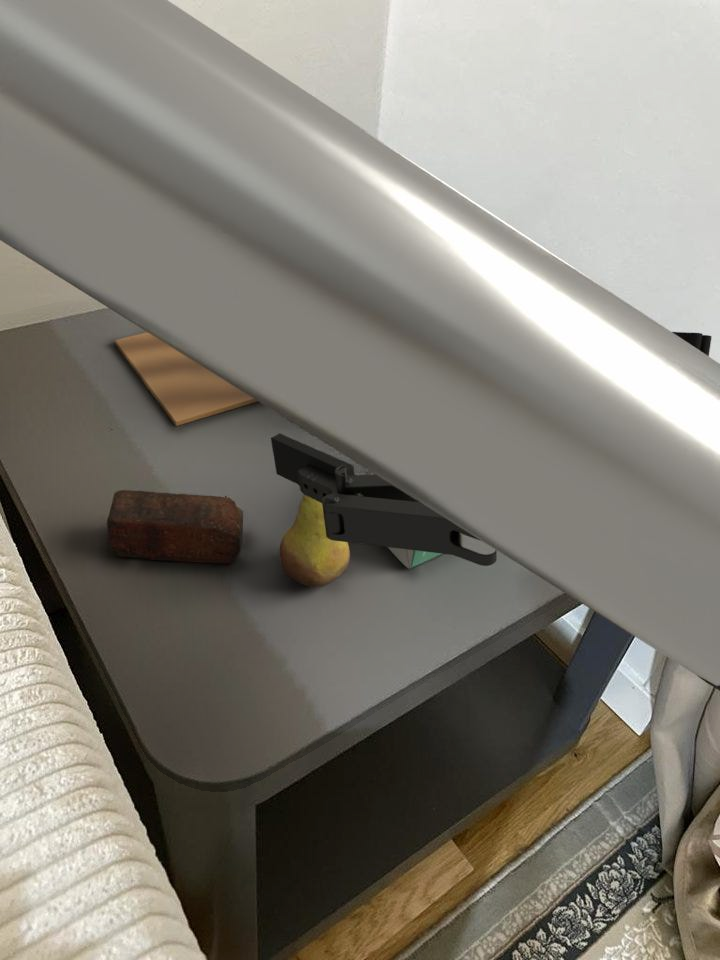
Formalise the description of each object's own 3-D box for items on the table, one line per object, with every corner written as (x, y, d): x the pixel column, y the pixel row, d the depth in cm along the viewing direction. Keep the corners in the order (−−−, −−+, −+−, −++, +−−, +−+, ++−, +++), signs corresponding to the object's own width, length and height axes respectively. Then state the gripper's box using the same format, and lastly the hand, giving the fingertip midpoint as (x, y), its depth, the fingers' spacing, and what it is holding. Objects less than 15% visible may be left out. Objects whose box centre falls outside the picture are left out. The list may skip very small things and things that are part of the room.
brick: (110, 560, 69) (104, 521, 66) (120, 526, 72) (114, 487, 69) (239, 567, 70) (239, 529, 67) (243, 533, 73) (244, 494, 70)
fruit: (333, 608, 68) (346, 502, 60) (268, 587, 69) (271, 480, 61) (356, 561, 72) (370, 455, 64) (293, 541, 73) (300, 435, 65)
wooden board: (115, 344, 92) (114, 339, 92) (230, 316, 98) (229, 311, 98) (176, 426, 83) (175, 421, 82) (298, 389, 89) (298, 384, 89)
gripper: (499, 711, 39) (218, 543, 52) (727, 477, 54) (463, 391, 67) (501, 589, 35) (196, 440, 48) (747, 371, 50) (462, 301, 63)
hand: (350, 411), depth 57 cm, fingers open, 13 cm apart
